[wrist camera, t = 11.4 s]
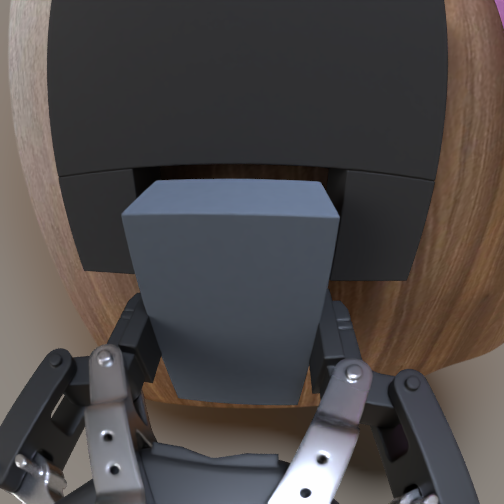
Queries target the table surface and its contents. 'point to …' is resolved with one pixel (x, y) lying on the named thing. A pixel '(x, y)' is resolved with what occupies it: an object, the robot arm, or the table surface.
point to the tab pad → (234, 282)
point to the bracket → (500, 9)
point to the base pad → (251, 110)
